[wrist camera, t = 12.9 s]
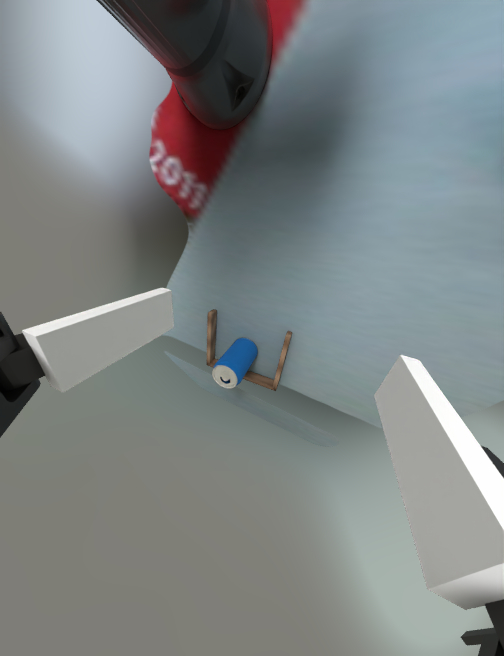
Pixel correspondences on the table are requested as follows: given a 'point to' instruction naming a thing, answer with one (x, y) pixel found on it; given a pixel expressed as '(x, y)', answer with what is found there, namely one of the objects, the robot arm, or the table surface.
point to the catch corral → (249, 375)
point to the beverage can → (235, 363)
